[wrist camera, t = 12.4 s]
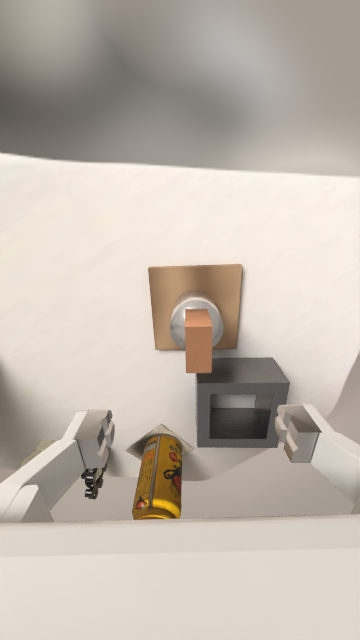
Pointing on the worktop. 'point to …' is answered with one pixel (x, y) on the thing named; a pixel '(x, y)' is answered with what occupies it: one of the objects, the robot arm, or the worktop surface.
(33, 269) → the worktop surface
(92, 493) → the valve
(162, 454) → the condiment
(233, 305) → the board
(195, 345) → the plug
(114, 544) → the robot arm
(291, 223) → the worktop surface
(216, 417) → the housing
